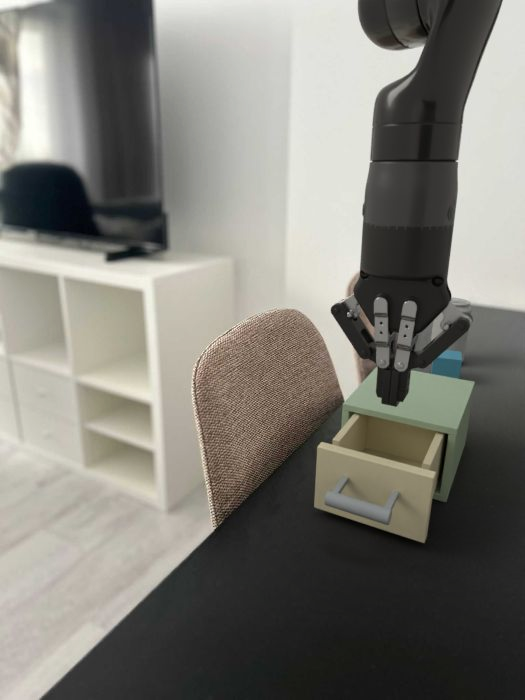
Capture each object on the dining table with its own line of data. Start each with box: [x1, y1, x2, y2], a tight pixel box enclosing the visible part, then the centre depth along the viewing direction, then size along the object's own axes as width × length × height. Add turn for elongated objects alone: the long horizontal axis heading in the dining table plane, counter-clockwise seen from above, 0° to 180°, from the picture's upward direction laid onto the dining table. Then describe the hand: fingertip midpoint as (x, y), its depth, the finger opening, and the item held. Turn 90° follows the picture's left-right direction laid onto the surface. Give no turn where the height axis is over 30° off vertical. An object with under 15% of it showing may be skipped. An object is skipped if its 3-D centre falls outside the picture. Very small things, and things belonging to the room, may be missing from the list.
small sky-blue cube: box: [430, 350, 463, 379], centre depth 89 cm, size 5×5×5 cm
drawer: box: [313, 413, 448, 544], centre depth 54 cm, size 18×11×7 cm, turn 152°
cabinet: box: [340, 366, 476, 503], centre depth 64 cm, size 15×13×9 cm
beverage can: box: [430, 297, 472, 363], centre depth 97 cm, size 6×6×12 cm
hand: (390, 402), depth 49 cm, fingers closed
